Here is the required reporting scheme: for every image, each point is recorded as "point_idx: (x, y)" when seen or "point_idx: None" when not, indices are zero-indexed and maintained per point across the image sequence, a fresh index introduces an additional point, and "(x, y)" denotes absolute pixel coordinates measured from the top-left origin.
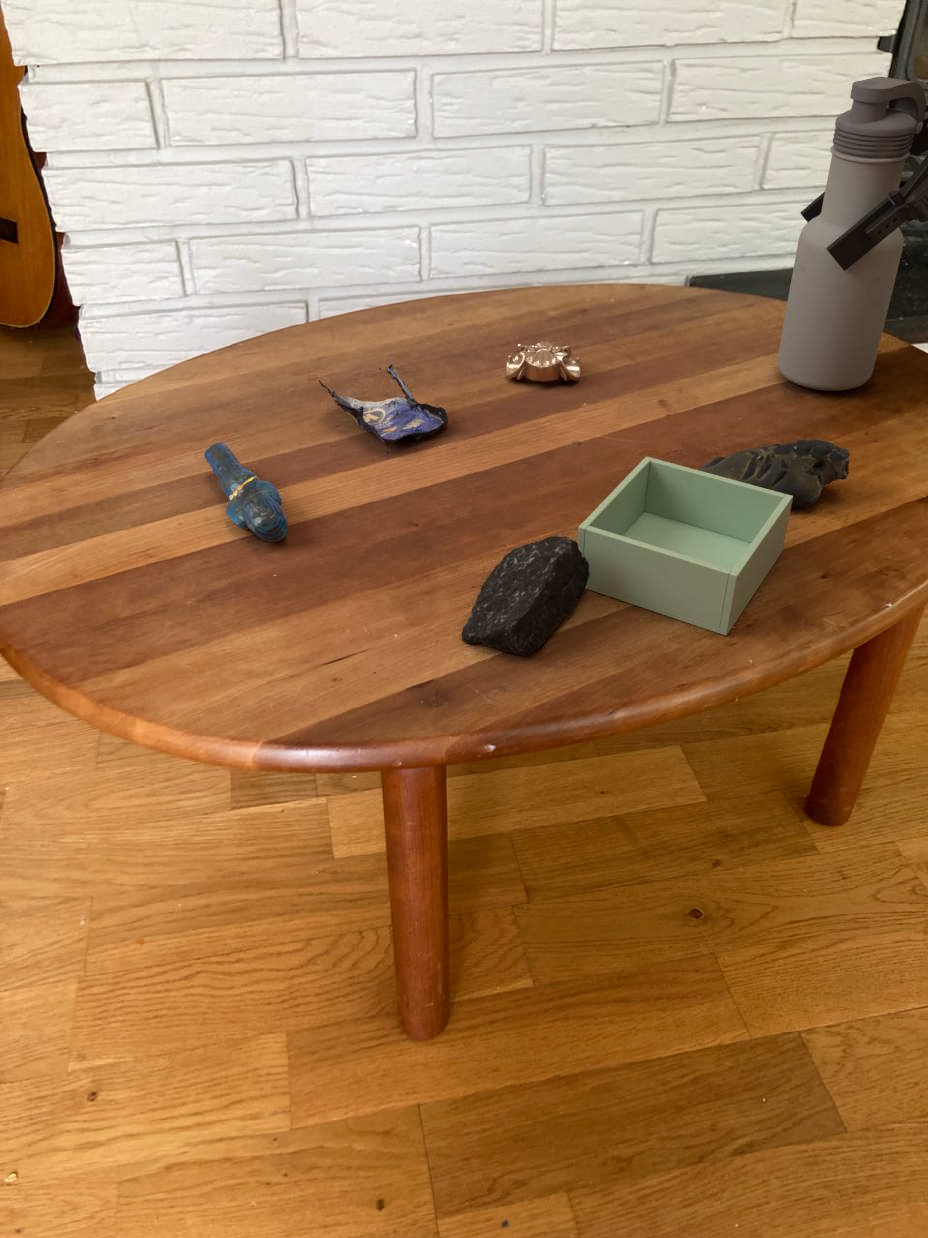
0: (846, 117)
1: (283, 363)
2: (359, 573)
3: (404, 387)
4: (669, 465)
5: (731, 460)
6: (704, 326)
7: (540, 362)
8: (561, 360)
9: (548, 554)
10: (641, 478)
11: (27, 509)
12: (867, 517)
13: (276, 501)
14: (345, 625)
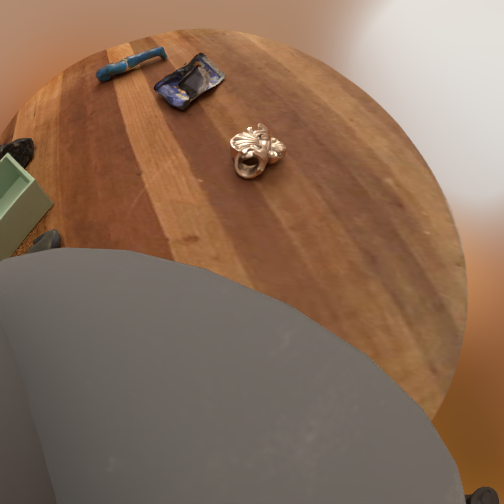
0: (11, 289)
1: (280, 61)
2: (70, 106)
3: (184, 76)
4: (21, 191)
5: (39, 247)
6: (380, 313)
7: (235, 138)
8: (239, 152)
9: (3, 145)
10: (29, 181)
11: (158, 35)
12: None
13: (107, 69)
14: (47, 110)
